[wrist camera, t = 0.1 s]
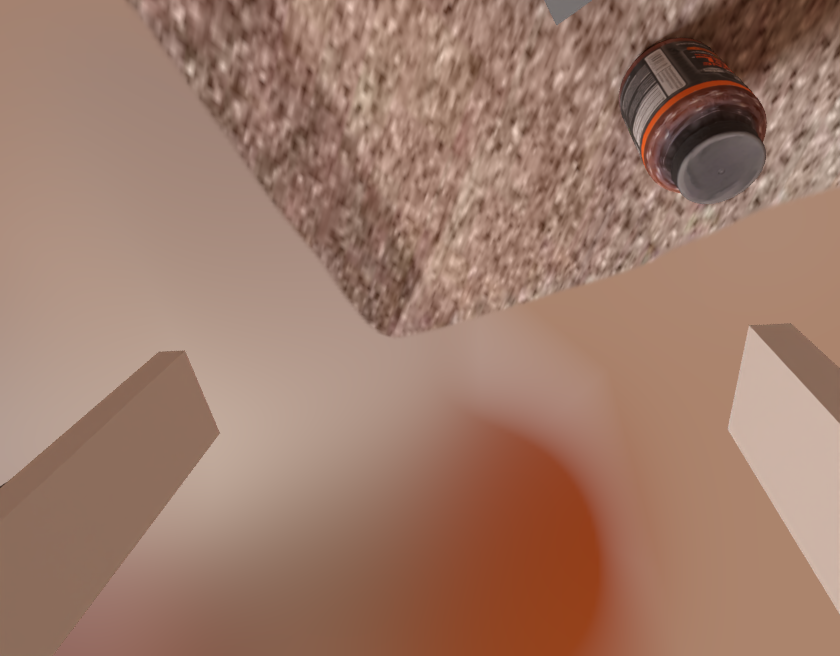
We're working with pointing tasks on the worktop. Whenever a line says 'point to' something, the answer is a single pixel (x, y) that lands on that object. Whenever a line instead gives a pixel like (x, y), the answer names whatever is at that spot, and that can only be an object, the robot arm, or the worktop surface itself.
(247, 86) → the worktop surface
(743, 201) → the worktop surface
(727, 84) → the supplement bottle
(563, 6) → the tray
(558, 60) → the worktop surface
